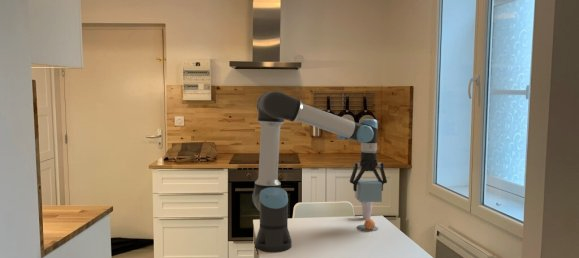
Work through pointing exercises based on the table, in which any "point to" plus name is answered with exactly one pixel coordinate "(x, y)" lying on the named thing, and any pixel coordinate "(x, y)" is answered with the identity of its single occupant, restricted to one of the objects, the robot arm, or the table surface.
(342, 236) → the table surface
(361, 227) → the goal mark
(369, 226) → the brown egg
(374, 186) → the blue-grey block
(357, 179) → the robot arm
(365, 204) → the smoothie
